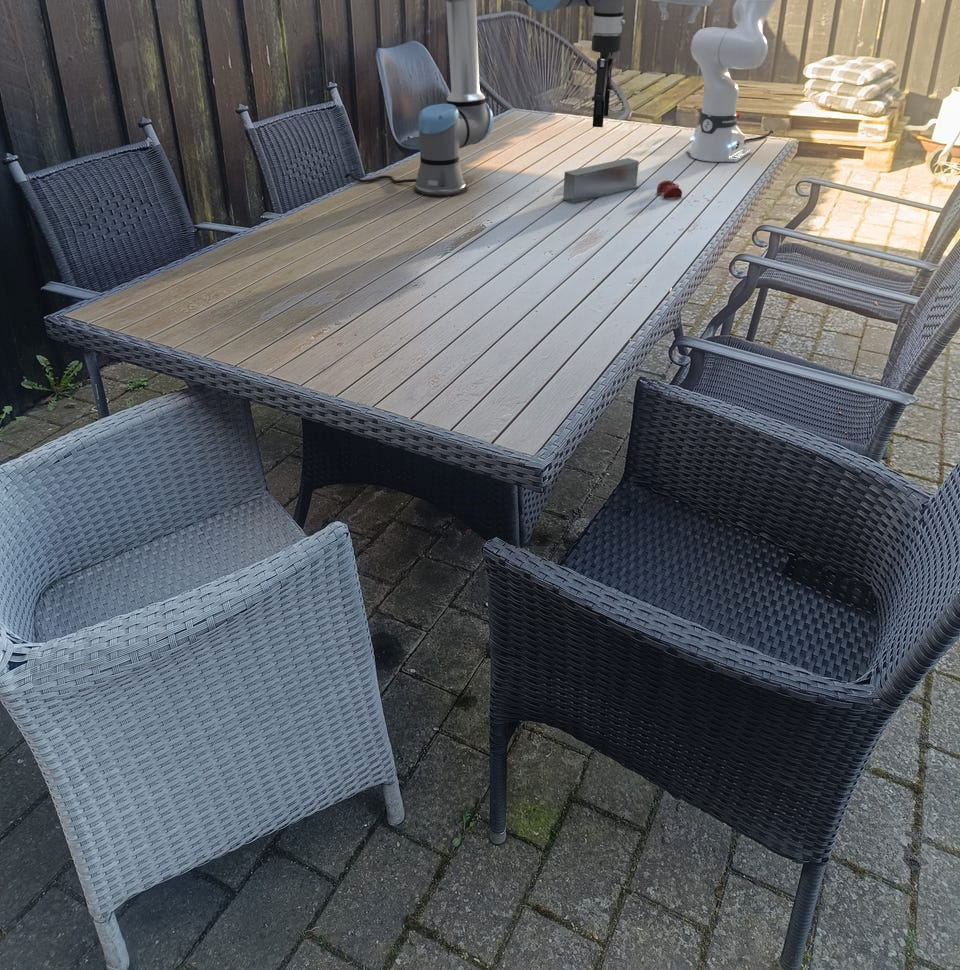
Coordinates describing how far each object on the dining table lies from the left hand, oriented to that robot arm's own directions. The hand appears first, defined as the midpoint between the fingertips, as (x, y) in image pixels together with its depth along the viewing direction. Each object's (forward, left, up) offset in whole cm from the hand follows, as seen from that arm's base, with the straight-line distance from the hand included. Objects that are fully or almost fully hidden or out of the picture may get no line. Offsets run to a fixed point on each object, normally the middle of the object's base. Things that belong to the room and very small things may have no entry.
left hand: (600, 121), depth 231 cm
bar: (-6, +12, -24) cm, 27 cm away
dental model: (+12, +23, -24) cm, 35 cm away
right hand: (-1, +41, +20) cm, 46 cm away
